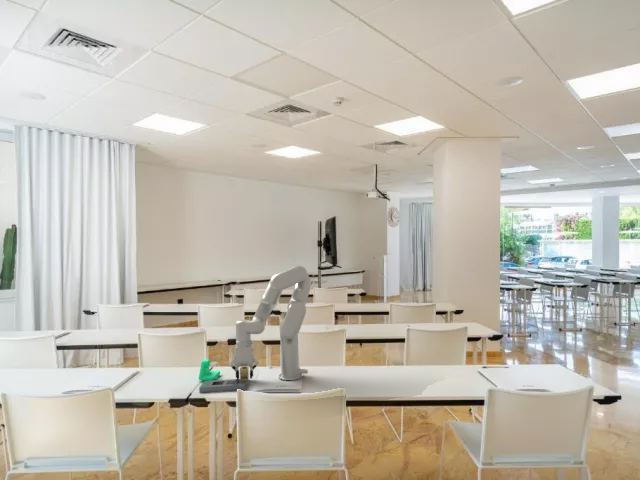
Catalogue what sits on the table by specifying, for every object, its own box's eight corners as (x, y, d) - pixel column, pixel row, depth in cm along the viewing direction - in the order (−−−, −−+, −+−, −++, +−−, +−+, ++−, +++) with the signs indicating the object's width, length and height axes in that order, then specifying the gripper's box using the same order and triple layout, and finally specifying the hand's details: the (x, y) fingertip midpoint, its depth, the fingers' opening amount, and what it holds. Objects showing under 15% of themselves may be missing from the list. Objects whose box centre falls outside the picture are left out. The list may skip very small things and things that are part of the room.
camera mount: (213, 382, 204) (212, 362, 204) (198, 382, 204) (198, 362, 205) (220, 375, 216) (220, 356, 216) (207, 375, 216) (206, 356, 217)
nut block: (249, 379, 205) (248, 366, 206) (248, 382, 201) (247, 368, 202) (241, 380, 205) (240, 366, 205) (240, 382, 201) (239, 368, 201)
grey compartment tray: (247, 383, 199) (247, 378, 199) (245, 390, 189) (244, 384, 190) (204, 385, 198) (204, 380, 198) (199, 392, 188) (199, 387, 188)
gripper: (260, 341, 208) (261, 375, 208) (228, 343, 207) (229, 377, 206) (259, 344, 201) (260, 379, 200) (225, 346, 200) (226, 381, 199)
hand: (244, 378), depth 203 cm, fingers open, 6 cm apart
